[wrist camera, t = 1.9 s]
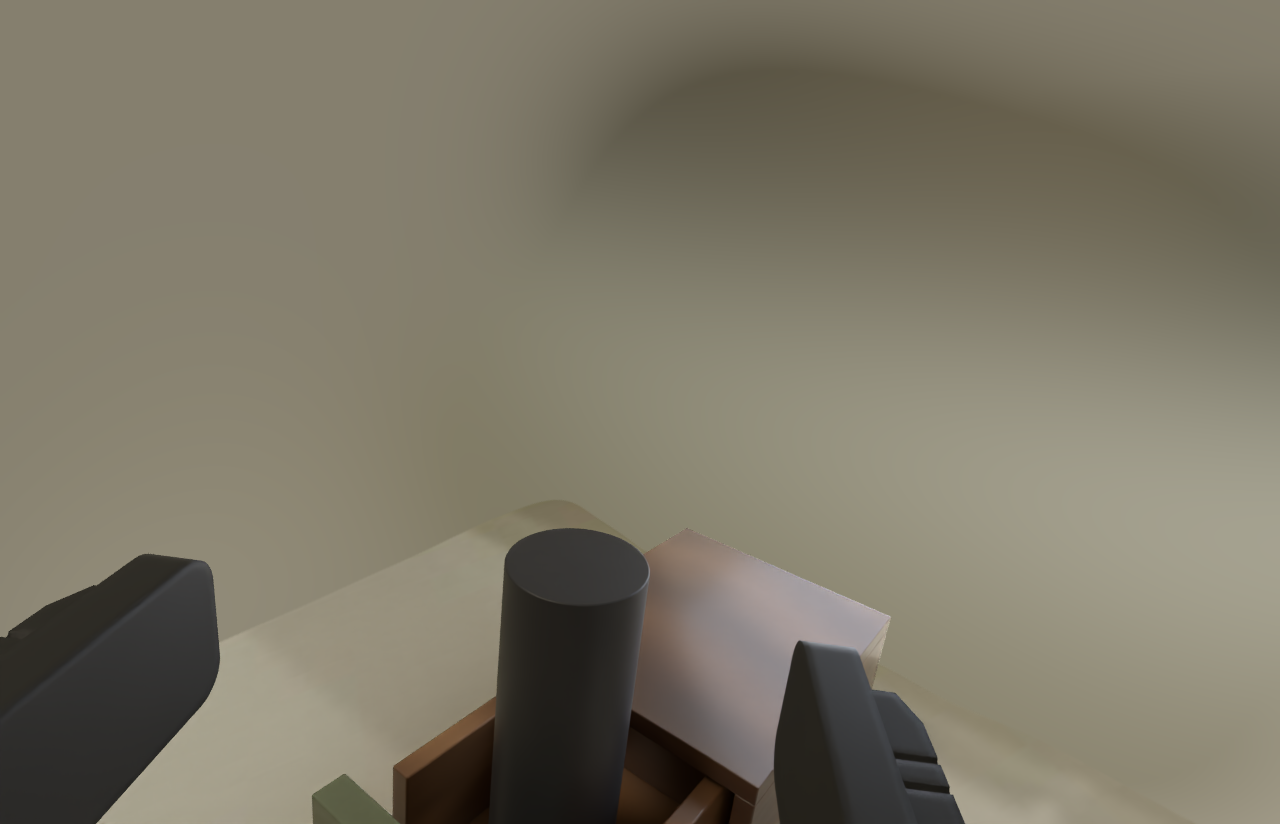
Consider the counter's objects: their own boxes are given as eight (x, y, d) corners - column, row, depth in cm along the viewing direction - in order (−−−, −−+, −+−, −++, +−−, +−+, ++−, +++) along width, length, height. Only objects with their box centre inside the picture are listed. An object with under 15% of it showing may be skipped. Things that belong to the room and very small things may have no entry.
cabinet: (724, 949, 27) (758, 788, 25) (500, 777, 33) (509, 634, 31) (857, 743, 38) (891, 616, 35) (669, 641, 44) (686, 527, 41)
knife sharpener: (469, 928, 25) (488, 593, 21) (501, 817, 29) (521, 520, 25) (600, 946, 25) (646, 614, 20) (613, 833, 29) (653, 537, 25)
